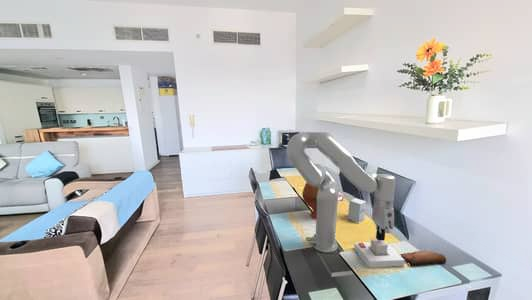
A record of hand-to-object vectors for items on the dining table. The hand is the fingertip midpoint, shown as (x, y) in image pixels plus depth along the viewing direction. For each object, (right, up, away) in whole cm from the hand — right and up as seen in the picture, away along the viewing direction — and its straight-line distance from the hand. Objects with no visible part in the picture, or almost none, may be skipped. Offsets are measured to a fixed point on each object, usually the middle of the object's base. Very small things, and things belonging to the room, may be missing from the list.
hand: (380, 239), depth 102 cm
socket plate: (0, -9, +2) cm, 9 cm away
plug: (0, -9, +2) cm, 9 cm away
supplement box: (+4, -3, +38) cm, 38 cm away
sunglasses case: (+19, -10, 0) cm, 21 cm away
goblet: (-20, -2, +41) cm, 46 cm away
